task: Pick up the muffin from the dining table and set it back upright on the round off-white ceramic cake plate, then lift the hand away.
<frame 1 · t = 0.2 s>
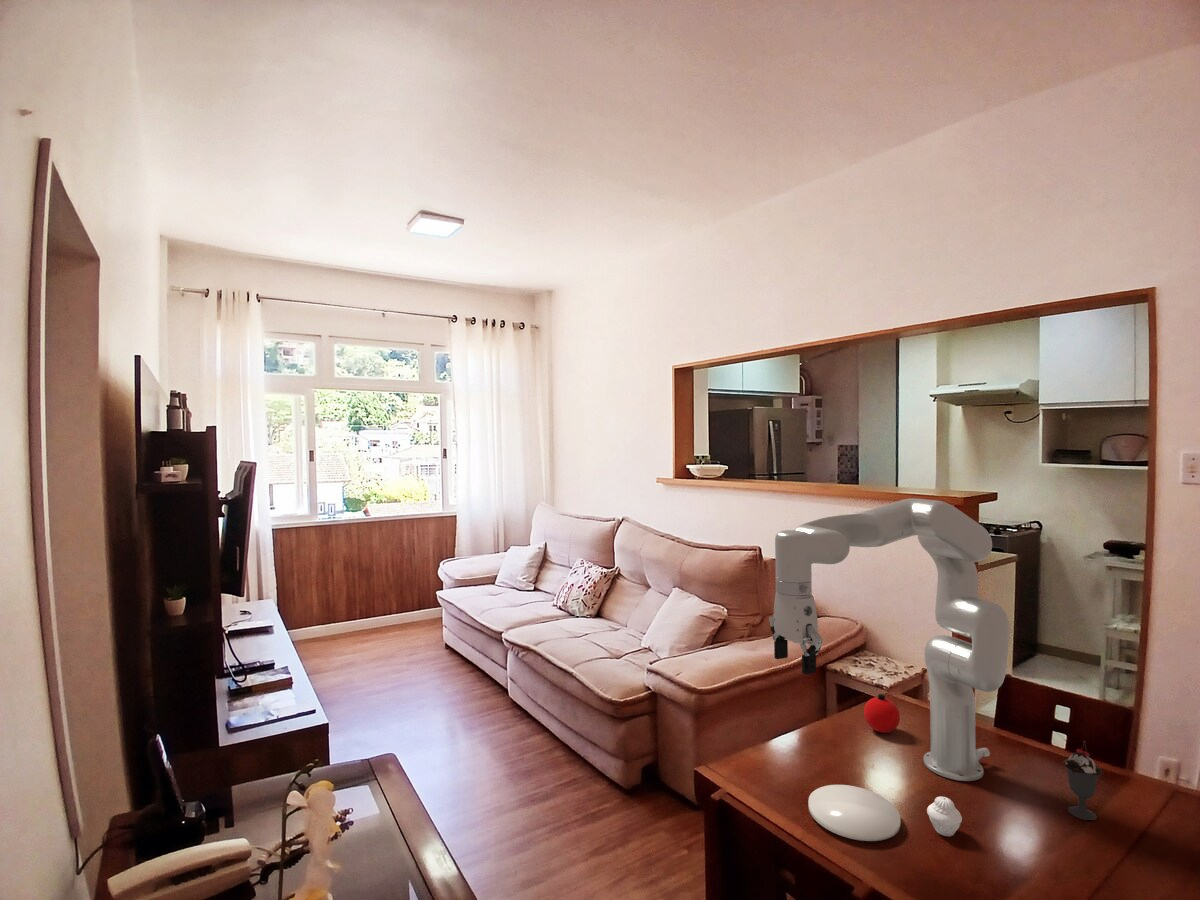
hand: (794, 665, 134), 31 cm above the table, tool pointing down, fingers open, 9 cm apart
cake plate: (853, 817, 130), on the table
ornament: (881, 731, 168), on the table
sundae: (1082, 814, 130), on the table
muffin: (944, 832, 125), on the table
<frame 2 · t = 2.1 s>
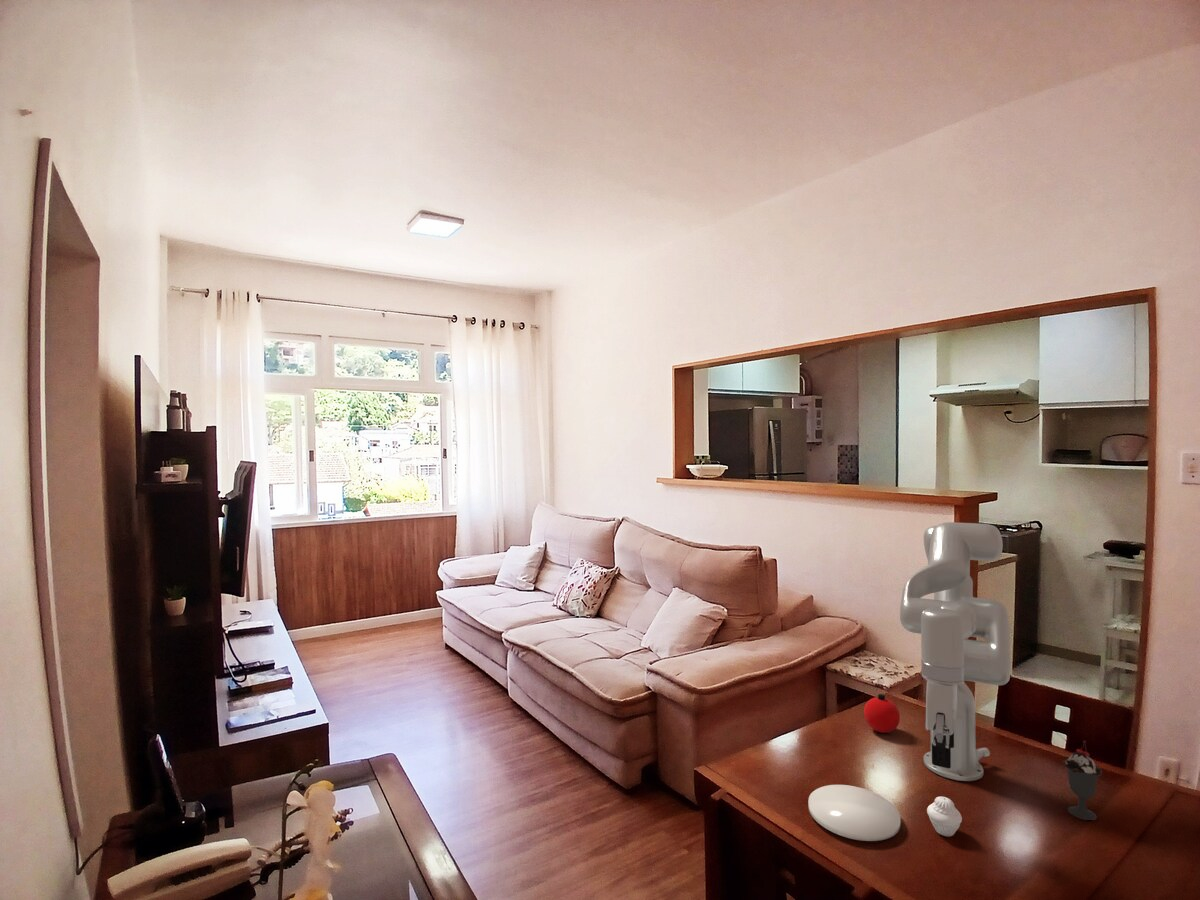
hand: (943, 755, 124), 16 cm above the table, tool pointing down, fingers open, 9 cm apart
nothing on the table moved.
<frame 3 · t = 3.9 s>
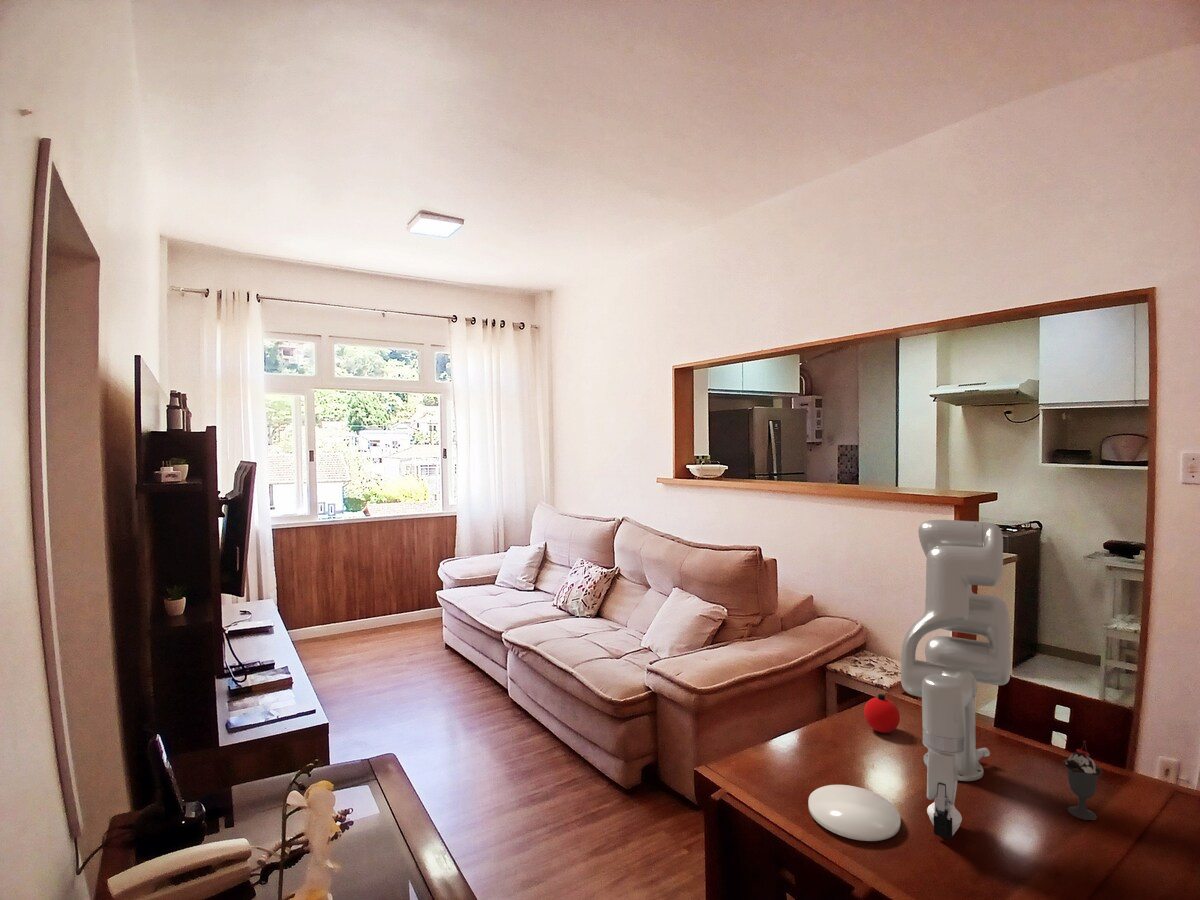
hand: (944, 826, 125), 1 cm above the table, tool pointing down, fingers closed on muffin, 6 cm apart
muffin: (944, 832, 125), on the table, touching gripper
everything else where it was.
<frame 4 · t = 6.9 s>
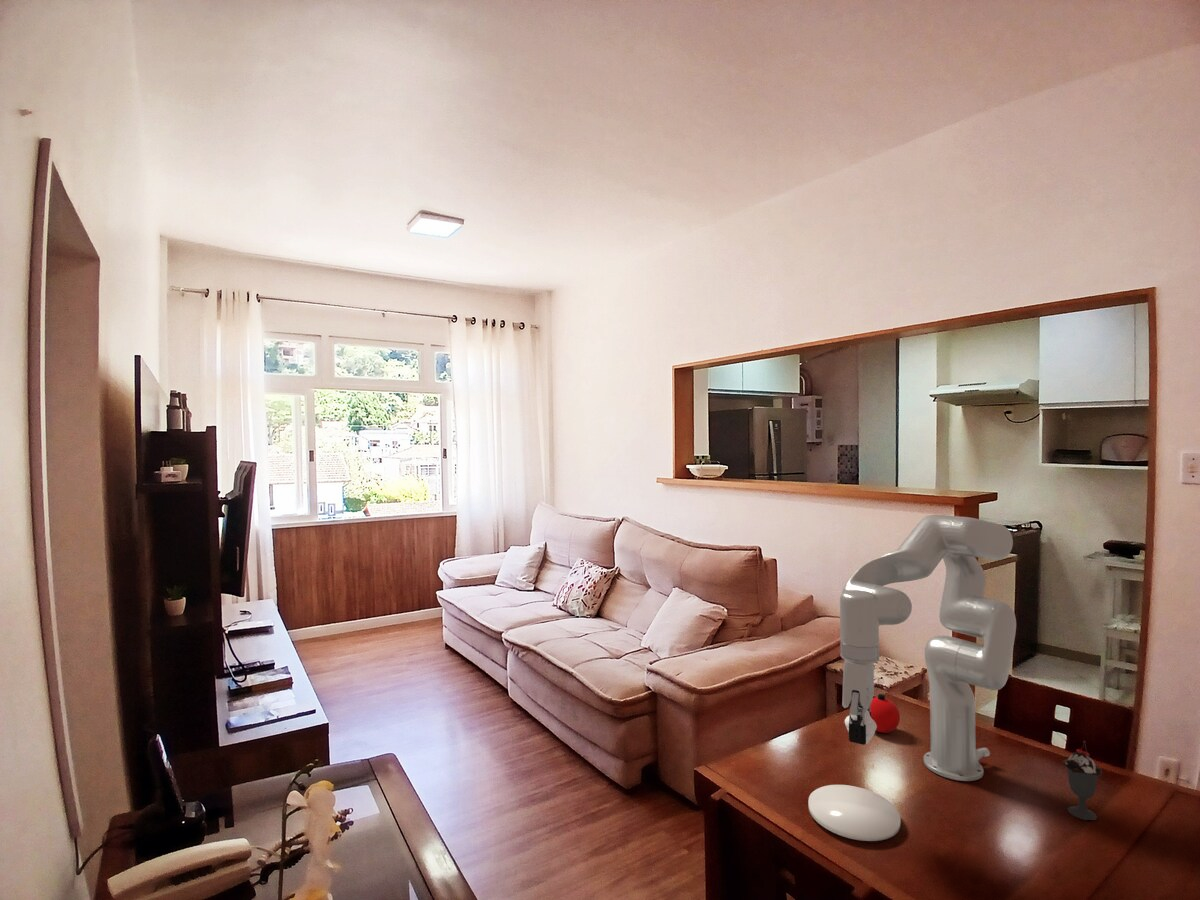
hand: (860, 735, 129), 18 cm above the table, tool pointing down, fingers closed on muffin, 6 cm apart
muffin: (860, 741, 129), point 16 cm above the table, touching gripper
everything else where it was.
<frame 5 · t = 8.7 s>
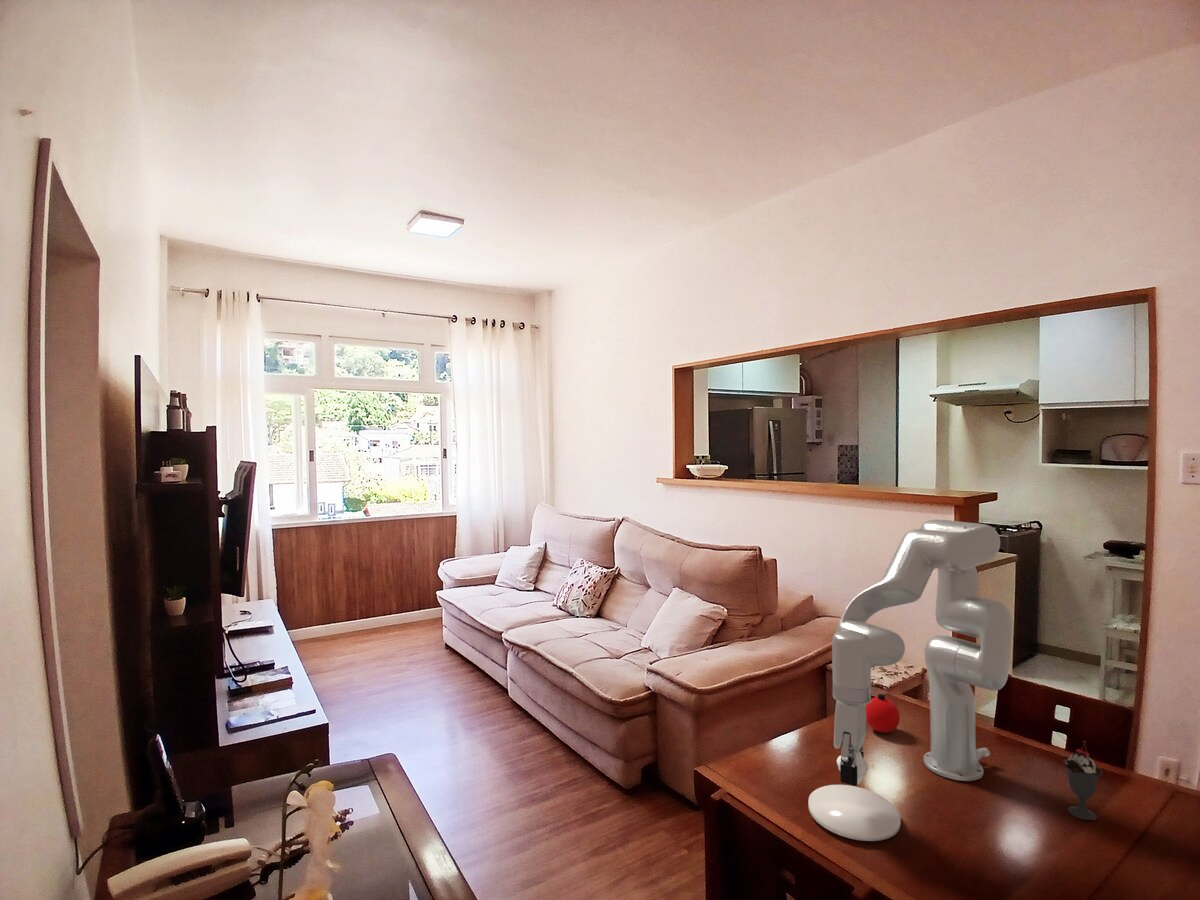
hand: (852, 775, 130), 9 cm above the table, tool pointing down, fingers closed on muffin, 6 cm apart
muffin: (852, 781, 130), point 8 cm above the table, touching gripper
everything else where it was.
when the fingers open (4 cm above the table, at t = 10.1 s): muffin stays where it is, resting on cake plate.
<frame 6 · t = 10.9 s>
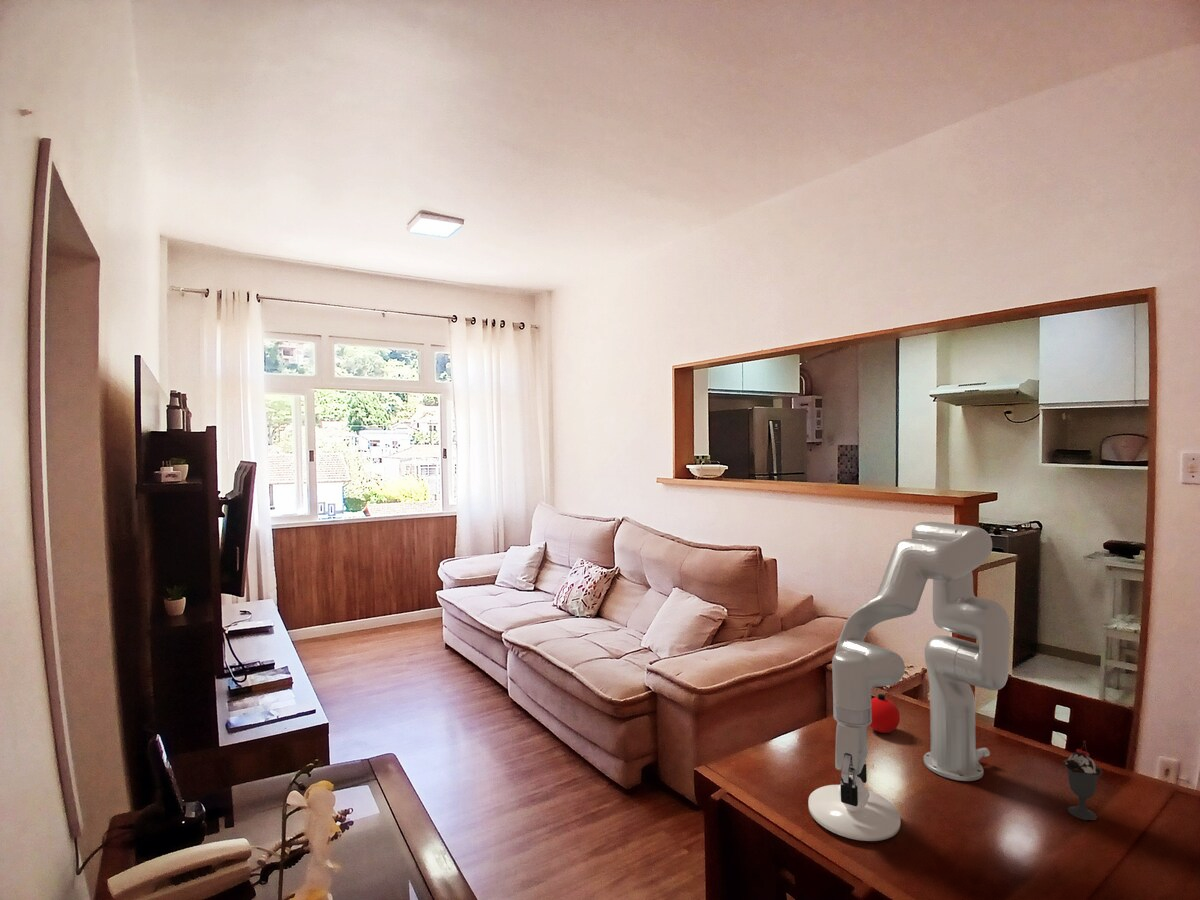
hand: (854, 791, 130), 5 cm above the table, tool pointing down, fingers open, 9 cm apart
muffin: (853, 809, 130), point 2 cm above the table, touching cake plate
everything else where it was.
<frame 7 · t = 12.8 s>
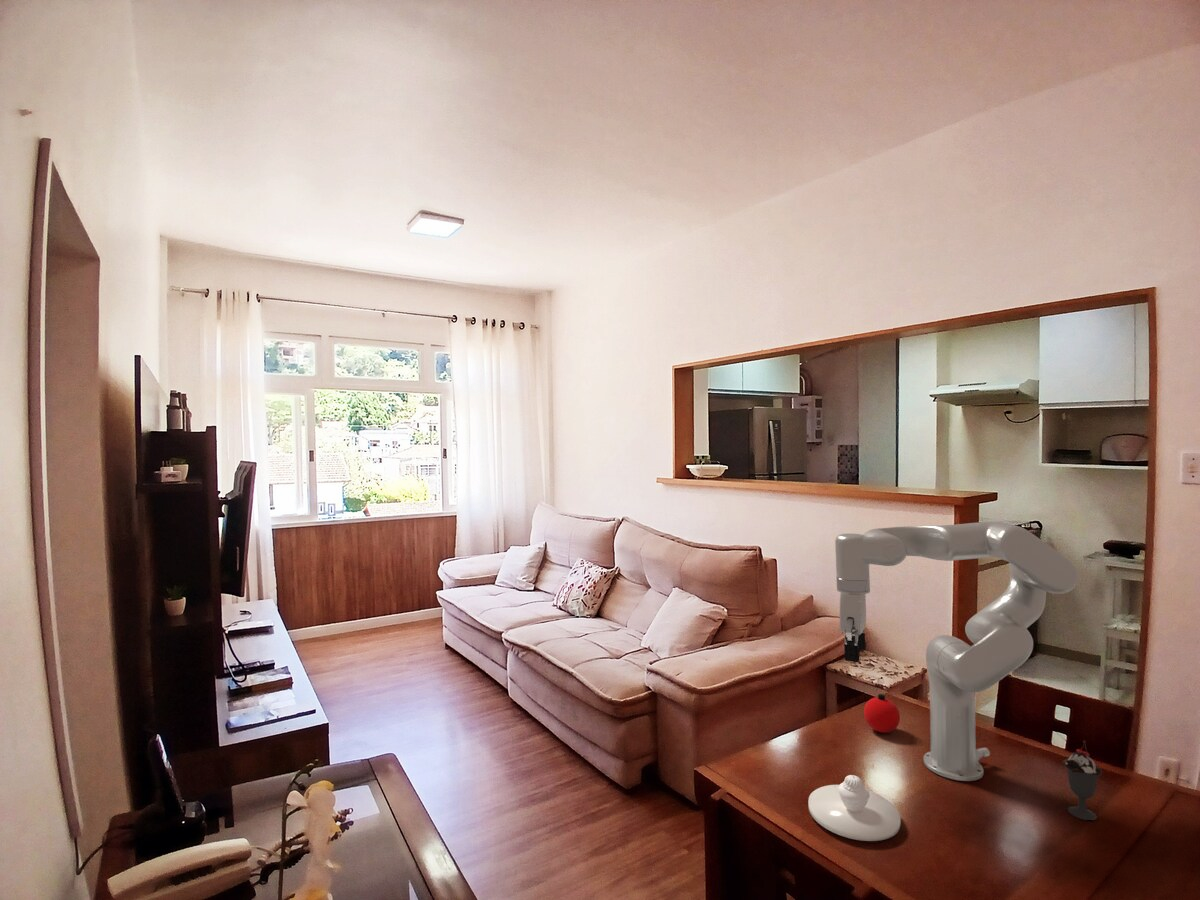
hand: (855, 654, 150), 27 cm above the table, tool pointing down, fingers open, 9 cm apart
nothing on the table moved.
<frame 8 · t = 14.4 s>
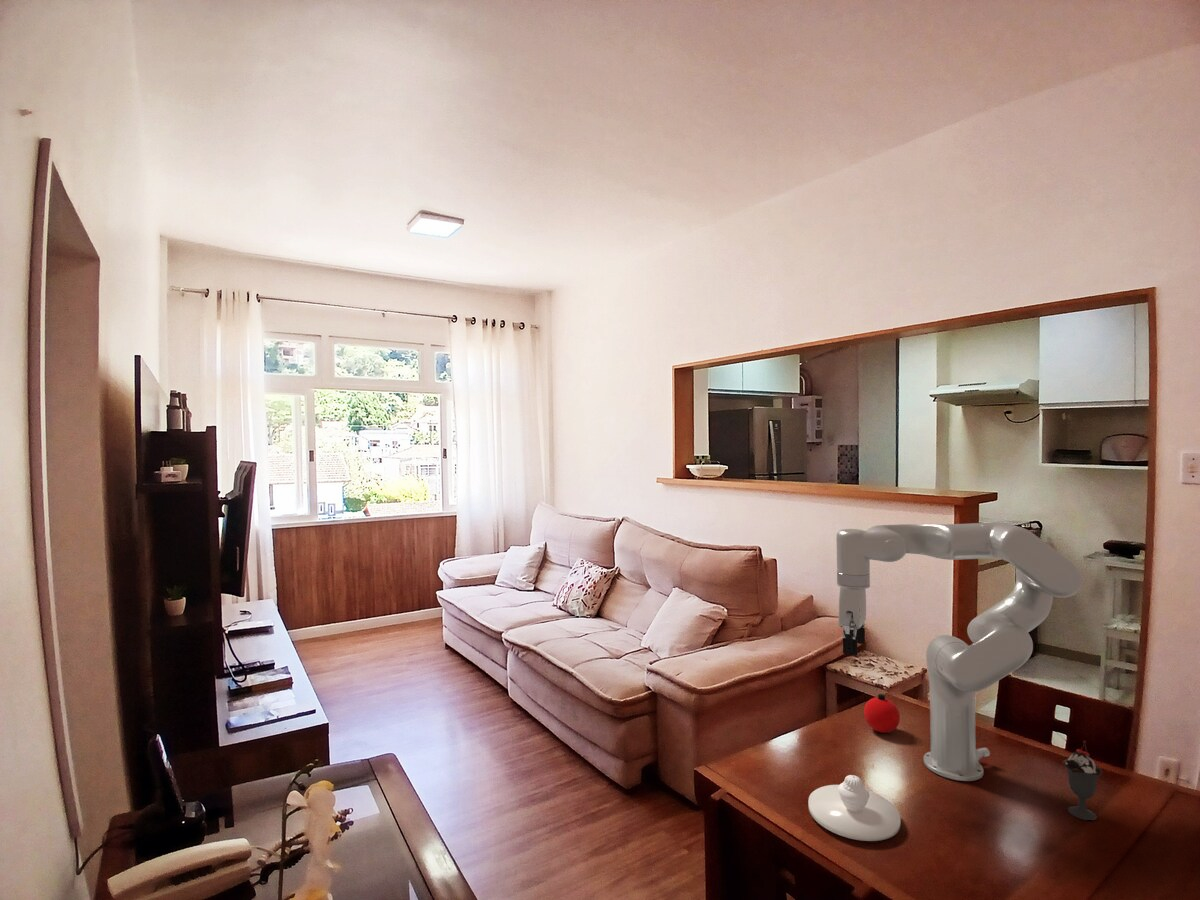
hand: (854, 648, 152), 28 cm above the table, tool pointing down, fingers open, 9 cm apart
nothing on the table moved.
at the end: muffin inside the target area on the cake plate (0.2 cm from its centre), point 1.7 cm above the cake plate's base; muffin tilted 0°; the gripper is holding nothing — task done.
